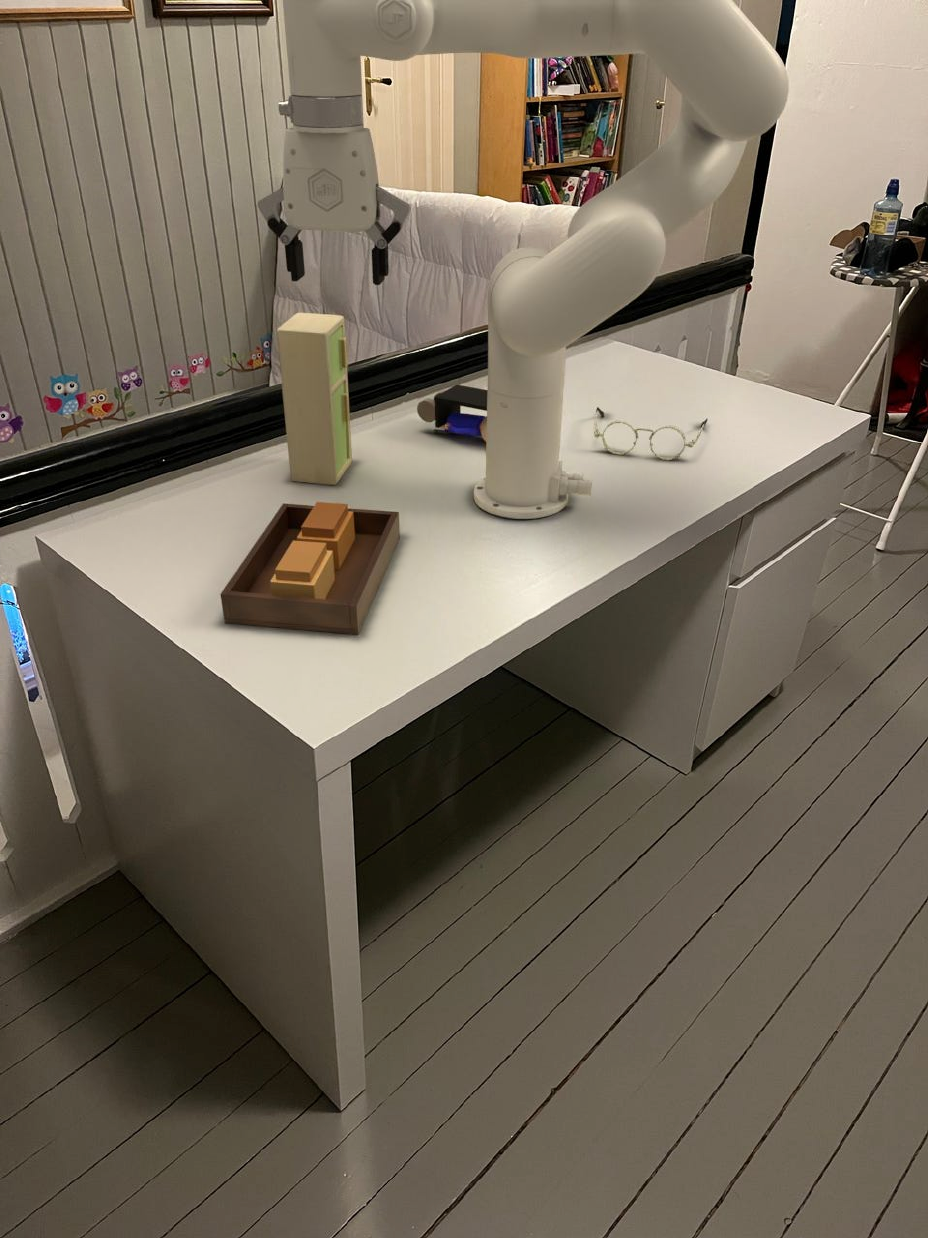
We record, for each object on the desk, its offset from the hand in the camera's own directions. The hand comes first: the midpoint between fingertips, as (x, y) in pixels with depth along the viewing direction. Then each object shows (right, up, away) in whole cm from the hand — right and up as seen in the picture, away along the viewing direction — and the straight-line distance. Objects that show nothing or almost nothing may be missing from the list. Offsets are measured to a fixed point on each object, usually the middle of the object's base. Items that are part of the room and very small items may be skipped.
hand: (338, 280), depth 110 cm
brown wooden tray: (-2, -35, -1) cm, 35 cm away
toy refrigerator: (-5, -19, +23) cm, 30 cm away
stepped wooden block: (-3, -37, -6) cm, 37 cm away
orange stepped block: (-2, -31, +2) cm, 32 cm away
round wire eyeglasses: (+43, -12, +34) cm, 56 cm away
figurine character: (+15, -12, +34) cm, 39 cm away
